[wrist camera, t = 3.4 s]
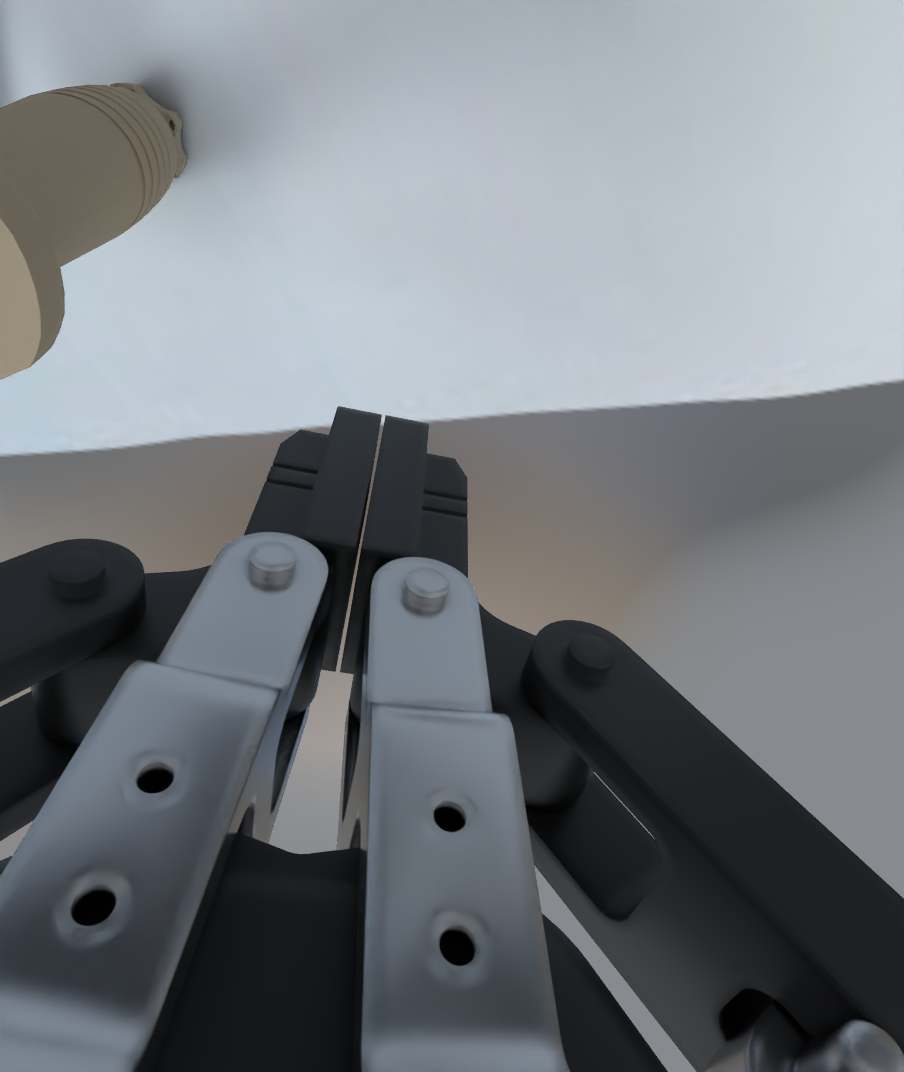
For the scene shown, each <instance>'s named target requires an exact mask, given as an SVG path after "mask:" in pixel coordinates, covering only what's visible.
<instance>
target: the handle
mask: <svg viewBox="0 0 904 1072" xmlns="http://www.w3.org/2000/svg"><path fill="white" fill-rule="evenodd" d="M182 127H183V123H182V121H181V119H180V117H179V115H178V114H177V112H176V111H174V110H169V109H166V108H164V107H163V106H161V105H159V104H158V103H156V102H155V101H154V100H153V99H151V98H150V97H149V96H148V95H147V93H146V91H145V90H144V88H143V87H141V86H138V85H135V84H130V83H114V84H111V85H110V86H109V85H83V86H75V87H66V88H61V89H56V90H51V91H47V92H43V93H38V94H35V95H30V96H28V97H25V98H23V99H21V100H18V101H16V102H14V103H12V104H9V105H7V106H5V107H2V108H0V380H1V379H3V378H5V377H8V376H10V375H12V374H15V373H17V372H19V371H21V370H24V369H26V368H28V367H31V366H32V365H33V364H34V363H35V362H36V361H37V360H38V359H40V358H41V357H42V356H43V355H44V354H45V353H46V352H47V351H48V350H49V349H50V348H51V347H52V345H53V344H54V342H55V340H56V337H57V335H58V333H59V331H60V328H61V324H62V321H63V317H64V287H63V281H62V275H61V269H60V267H61V266H63V265H65V264H67V263H69V262H71V261H72V260H74V259H76V258H78V257H80V256H82V255H84V254H86V253H88V252H89V251H91V250H93V249H95V248H97V247H99V246H101V245H103V244H105V243H106V242H108V241H110V240H112V239H114V238H116V237H117V236H119V235H121V234H122V233H124V232H125V231H127V230H128V229H129V228H131V227H132V226H133V225H135V224H136V223H137V222H138V221H140V220H141V219H142V218H143V217H144V216H145V215H146V214H148V213H149V212H150V211H151V210H152V208H153V207H155V205H156V204H157V203H158V202H159V201H160V200H161V198H162V197H163V196H164V194H165V193H166V192H167V190H168V189H169V187H170V185H171V182H172V180H173V178H178V177H179V176H180V175H181V174H182V172H183V170H184V168H185V166H186V163H187V159H188V158H187V155H186V154H185V153H184V150H183V147H182V143H181V129H182Z"/></svg>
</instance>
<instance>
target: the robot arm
mask: <svg viewBox="0 0 904 1072" xmlns="http://www.w3.org/2000/svg"><path fill="white" fill-rule="evenodd" d="M381 417H382V415H381V414H376V413H371V412H365V411H360V410H355V409H350V408H345V407H340V406H338V408H337V411H336V414H335V417H334V421H333V424H332V427H331V430H330V434H329V435H326V434H321V433H315V432H310V431H305V430H299V431H298V432H296V433H295V434H294V435H292V436H291V437H289V438H288V439H287V440H285V441H284V442H282V443H281V444H280V447H279V449H278V452H277V454H276V457H275V459H274V462H273V466H272V467H271V470H270V472H269V474H268V477H267V481H266V482H265V484H264V487H263V489H262V491H261V494H260V497H259V499H258V501H257V504H256V506H255V509H254V511H253V514H252V516H251V519H250V522H249V524H248V526H247V529H246V531H245V534H244V536H242V537H239V538H237V539H235V540H233V541H231V542H230V543H228V544H227V545H226V546H224V548H222V549H221V550H220V552H219V553H218V555H217V556H216V558H215V560H214V562H213V563H212V565H209V566H206V567H203V568H199V569H194V570H190V571H181V572H180V571H179V572H163V573H147V574H144V569H143V565H142V563H141V561H140V559H139V558H138V557H137V556H136V555H135V554H134V553H133V552H131V551H130V550H129V549H127V548H125V547H123V546H121V545H119V544H116V543H113V542H109V541H104V540H98V539H73V540H65V541H61V542H56V543H53V544H50V545H47V546H44V547H41V548H39V549H36V550H33V551H31V552H28V553H25V554H23V555H20V556H17V557H15V558H12V559H9V560H7V561H4V562H1V563H0V702H1V701H3V700H5V699H7V698H9V697H11V696H13V695H14V694H17V693H19V692H20V691H23V690H25V689H27V688H29V687H31V692H29V693H27V694H25V695H23V696H21V697H19V698H17V699H15V700H13V701H11V702H9V703H7V704H5V705H3V706H1V707H0V841H1V840H3V839H4V838H6V837H8V836H9V835H11V834H12V833H14V832H16V831H17V830H18V829H20V828H22V827H23V826H25V825H27V824H28V823H30V822H31V821H33V820H34V822H33V823H32V825H31V826H30V828H29V830H28V832H27V833H26V835H25V836H24V838H23V840H22V841H21V843H20V845H19V846H18V848H17V849H16V851H15V853H14V855H13V856H11V857H9V858H6V859H4V860H1V861H0V1072H668V1071H667V1070H666V1069H665V1067H664V1066H663V1064H662V1063H661V1062H660V1060H659V1059H658V1058H657V1056H656V1055H655V1053H654V1052H653V1051H652V1049H651V1048H650V1046H649V1045H648V1044H647V1042H646V1041H645V1040H644V1038H643V1037H642V1035H641V1034H640V1033H639V1031H638V1030H637V1028H636V1027H635V1026H634V1024H633V1023H632V1022H631V1020H630V1019H629V1017H628V1016H627V1015H626V1014H625V1012H624V1011H623V1009H622V1008H621V1006H620V1005H619V1004H618V1002H617V1001H616V1000H615V998H614V997H613V995H612V994H611V992H610V991H609V990H608V988H607V987H606V986H605V984H604V983H603V981H602V980H601V979H600V977H599V976H598V975H597V973H596V972H595V970H594V969H593V968H592V966H591V965H590V963H589V962H588V961H587V960H586V958H585V957H584V956H583V954H582V953H581V952H580V951H579V949H578V948H577V947H576V946H575V945H574V944H573V943H572V942H571V940H570V939H569V938H568V937H567V936H566V935H565V934H564V933H563V932H562V931H561V930H560V929H559V928H558V927H557V926H556V925H555V924H553V923H552V922H551V921H550V920H549V919H548V918H547V917H545V915H543V914H542V913H541V906H540V899H539V893H538V887H537V880H536V873H535V867H534V865H535V866H536V867H537V869H538V870H539V871H540V872H541V874H542V875H543V876H544V878H545V879H546V880H547V881H548V883H549V884H550V885H551V887H552V888H553V889H554V890H555V892H556V893H557V894H558V895H559V897H560V898H561V899H562V901H563V902H564V903H565V904H566V905H567V907H568V908H569V909H570V911H571V912H572V913H573V915H574V916H575V917H576V918H577V920H578V921H579V922H580V923H581V925H582V926H583V927H584V928H585V930H586V931H587V932H588V934H589V935H590V936H591V938H592V939H593V940H594V941H595V942H596V944H597V945H598V946H599V948H600V949H601V950H602V951H603V953H604V954H605V955H606V957H607V958H608V959H609V960H610V962H611V963H612V964H613V966H614V967H615V968H616V969H617V971H618V972H619V973H620V974H621V976H622V977H623V978H624V980H625V981H626V982H627V983H628V985H629V986H630V987H631V989H632V990H633V991H634V992H635V994H636V995H637V996H638V997H639V999H640V1000H641V1001H642V1003H643V1004H644V1005H645V1006H646V1008H647V1009H648V1010H649V1011H650V1013H651V1014H652V1015H653V1016H654V1018H655V1019H656V1020H657V1022H658V1023H659V1024H660V1025H661V1027H662V1028H663V1029H664V1031H665V1032H666V1033H667V1034H668V1036H669V1037H670V1038H671V1039H672V1041H673V1042H674V1043H675V1045H676V1046H677V1047H678V1048H679V1050H680V1051H681V1052H682V1053H683V1055H684V1056H685V1057H686V1059H687V1060H688V1061H689V1062H690V1064H691V1065H692V1066H693V1067H694V1069H695V1070H696V1071H697V1072H904V899H903V898H902V897H901V896H900V895H899V894H898V893H897V892H896V891H895V890H894V889H893V888H891V887H890V886H889V885H888V884H887V883H886V882H885V881H884V880H883V879H882V878H881V877H879V876H878V875H877V874H876V873H875V872H874V871H873V870H872V869H871V868H870V867H869V866H867V865H866V864H865V863H864V862H863V861H862V860H861V859H860V858H859V857H858V856H857V855H855V854H854V853H853V852H852V851H851V850H850V849H849V848H848V847H847V846H845V844H843V843H842V842H841V841H840V840H839V839H838V838H837V837H836V836H835V835H834V834H832V833H831V832H830V831H829V830H828V829H827V828H826V827H825V826H824V825H823V824H822V823H821V822H819V821H818V820H817V819H816V818H815V817H814V816H813V815H812V814H811V813H809V812H808V811H807V810H806V809H805V808H804V807H803V806H802V805H801V804H800V803H799V802H798V801H797V800H795V799H794V798H793V797H792V796H791V795H790V794H789V793H788V792H787V791H785V790H784V789H783V788H782V787H781V786H780V785H779V784H778V783H777V782H776V781H775V780H774V779H773V778H771V777H770V776H769V775H768V774H767V773H766V772H765V771H764V770H763V769H762V768H760V767H759V766H758V765H757V764H756V763H755V762H754V761H753V760H752V759H751V758H750V757H748V756H747V755H746V754H745V753H744V752H743V751H742V750H741V749H740V748H739V747H737V745H735V744H734V743H733V742H732V741H731V740H730V739H729V738H728V737H727V736H726V735H725V734H723V733H722V732H721V731H720V730H719V729H718V728H717V727H716V726H715V725H714V724H713V723H711V722H710V721H709V720H708V719H707V718H706V717H705V716H704V715H702V713H700V712H699V711H698V710H697V709H696V708H695V707H694V706H693V705H692V704H691V703H690V702H689V701H687V700H686V699H685V698H684V697H683V696H682V695H681V694H680V693H679V692H678V691H677V690H675V689H674V688H673V687H672V686H671V685H670V684H669V683H668V682H667V681H666V680H665V679H663V678H662V677H661V676H660V675H659V674H658V673H657V672H656V671H655V670H654V669H652V668H651V667H650V666H649V665H648V664H647V663H646V662H645V661H644V660H643V659H642V658H641V657H639V656H638V655H637V654H636V653H635V652H634V651H633V650H632V649H631V648H630V647H629V646H627V645H626V644H625V643H624V642H623V641H622V640H620V639H619V638H618V637H617V636H615V635H614V634H612V633H611V632H609V631H607V630H605V629H603V628H601V627H599V626H596V625H594V624H591V623H587V622H583V621H575V620H563V621H557V622H554V623H551V624H549V625H547V626H545V627H544V628H543V629H542V630H540V631H539V633H538V634H537V636H535V635H532V634H530V633H528V632H526V631H523V630H521V629H518V628H516V627H514V626H511V625H509V624H507V623H505V622H503V621H501V620H499V619H498V618H496V617H495V616H493V615H492V614H490V613H489V612H488V611H487V610H485V609H484V608H483V607H482V606H481V605H480V604H479V602H478V597H477V593H476V590H475V588H474V587H473V585H472V583H471V582H470V581H469V580H468V546H467V545H468V541H467V540H468V534H467V533H468V529H467V526H468V524H467V477H466V476H465V474H464V472H463V471H462V469H461V468H460V466H459V465H458V463H457V461H456V460H455V459H454V458H449V457H443V456H437V455H433V454H427V440H428V428H429V424H428V423H423V422H418V421H413V420H408V419H402V418H397V417H392V416H387V415H386V417H385V422H384V428H383V433H382V438H381V444H380V449H379V455H378V460H377V466H376V471H375V476H374V483H373V487H372V493H371V499H370V504H369V510H368V515H367V520H366V526H365V531H364V536H363V542H362V547H361V553H360V559H359V565H358V570H357V576H356V582H355V588H354V594H353V600H352V605H351V611H350V617H349V623H348V629H347V635H346V640H345V647H344V652H343V658H342V664H341V670H340V672H343V673H350V674H354V676H353V682H352V688H351V695H350V700H349V706H348V711H347V716H346V722H345V735H344V749H343V764H342V779H341V793H340V807H339V808H340V809H339V822H338V836H337V846H336V850H335V851H327V852H320V853H311V854H295V853H291V852H287V851H285V850H282V849H280V848H277V847H275V846H272V845H270V844H269V841H270V837H271V834H272V830H273V827H274V823H275V820H276V816H277V814H278V810H279V807H280V804H281V801H282V798H283V794H284V791H285V788H286V785H287V782H288V778H289V775H290V772H291V769H292V765H293V762H294V759H295V756H296V753H297V750H298V746H299V743H300V740H301V737H302V734H303V730H304V727H305V724H306V721H307V718H308V713H309V706H310V703H311V702H312V700H313V698H314V697H315V694H316V691H317V686H318V681H319V676H320V672H321V669H322V670H328V671H336V666H337V660H338V655H339V650H340V644H341V639H342V634H343V628H344V623H345V618H346V612H347V607H348V602H349V597H350V591H351V586H352V581H353V575H354V570H355V565H356V560H357V554H358V549H359V544H360V538H361V533H362V528H363V522H364V517H365V511H366V505H367V500H368V494H369V488H370V482H371V476H372V470H373V464H374V458H375V453H376V447H377V440H378V435H379V428H380V423H381ZM593 772H595V773H596V774H597V775H598V776H599V777H600V779H601V780H602V781H603V782H604V783H605V784H606V785H607V786H608V787H609V788H610V789H611V790H612V792H613V793H614V794H615V795H616V796H617V797H618V798H619V799H620V800H621V801H622V802H623V804H624V805H625V806H626V807H627V808H628V809H629V810H630V811H631V812H632V813H633V814H634V816H636V818H637V819H638V820H639V821H640V822H641V823H642V824H643V825H644V826H645V828H646V829H647V830H648V831H649V832H650V833H651V834H652V836H653V837H654V839H653V837H652V836H651V835H650V834H649V833H648V832H647V831H646V830H645V828H644V827H643V826H642V825H641V824H640V823H639V822H638V821H637V820H636V819H635V818H634V817H633V815H632V814H631V813H630V812H629V811H628V810H627V809H626V808H625V807H624V806H623V805H622V803H621V802H620V801H619V800H618V799H617V798H616V797H615V796H614V795H613V794H612V792H611V791H610V790H609V789H608V788H607V787H606V786H605V785H604V784H603V783H602V782H601V781H600V779H599V778H598V777H597V776H596V775H595V774H594V773H593Z"/></svg>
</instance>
